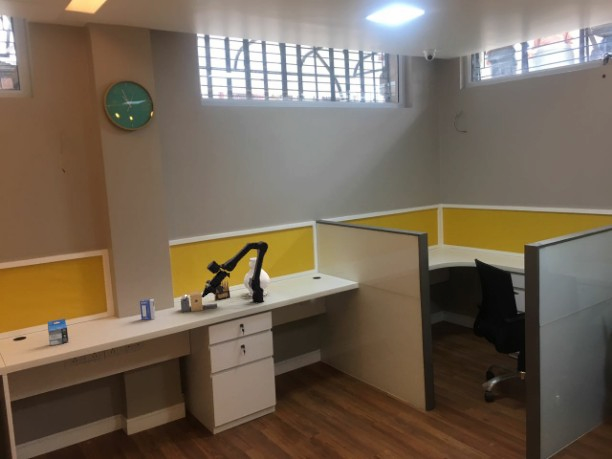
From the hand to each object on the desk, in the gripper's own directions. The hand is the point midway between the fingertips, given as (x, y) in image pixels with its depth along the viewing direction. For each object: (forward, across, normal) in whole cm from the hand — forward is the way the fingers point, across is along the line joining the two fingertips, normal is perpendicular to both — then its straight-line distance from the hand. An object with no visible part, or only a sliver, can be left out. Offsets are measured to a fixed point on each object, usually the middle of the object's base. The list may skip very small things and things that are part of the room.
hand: (202, 297), depth 335 cm
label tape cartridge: (+60, -38, +48) cm, 86 cm away
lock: (+8, 0, -3) cm, 8 cm away
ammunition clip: (-4, +19, -15) cm, 25 cm away
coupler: (+7, 0, -4) cm, 8 cm away
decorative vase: (-21, +22, -32) cm, 44 cm away
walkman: (+28, -10, +17) cm, 35 cm away
